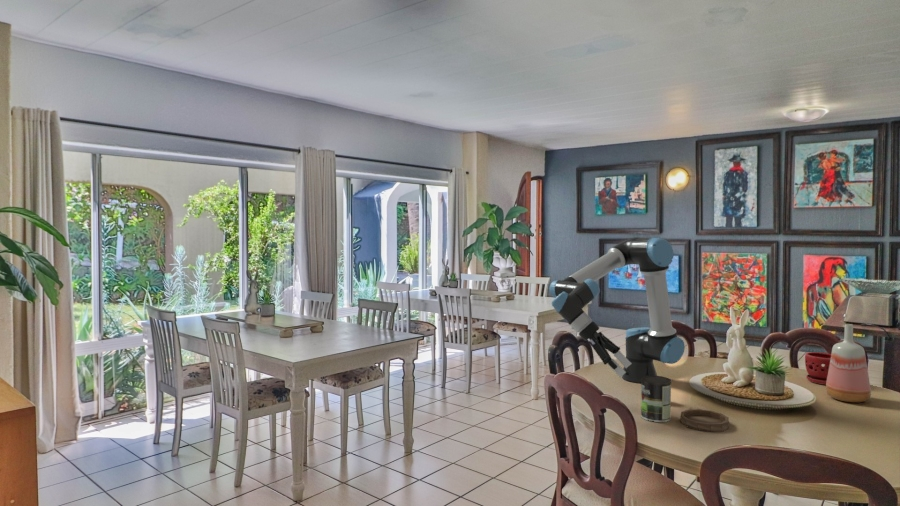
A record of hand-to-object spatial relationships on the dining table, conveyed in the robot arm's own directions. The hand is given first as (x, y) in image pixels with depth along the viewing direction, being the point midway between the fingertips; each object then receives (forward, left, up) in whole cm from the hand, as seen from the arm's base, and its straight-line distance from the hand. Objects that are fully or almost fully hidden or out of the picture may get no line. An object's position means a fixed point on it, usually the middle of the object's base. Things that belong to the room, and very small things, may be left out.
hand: (626, 370), depth 206 cm
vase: (-51, +76, -16) cm, 93 cm away
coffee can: (0, +10, -16) cm, 19 cm away
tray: (0, +26, -16) cm, 31 cm away
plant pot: (-75, +71, -17) cm, 105 cm away
